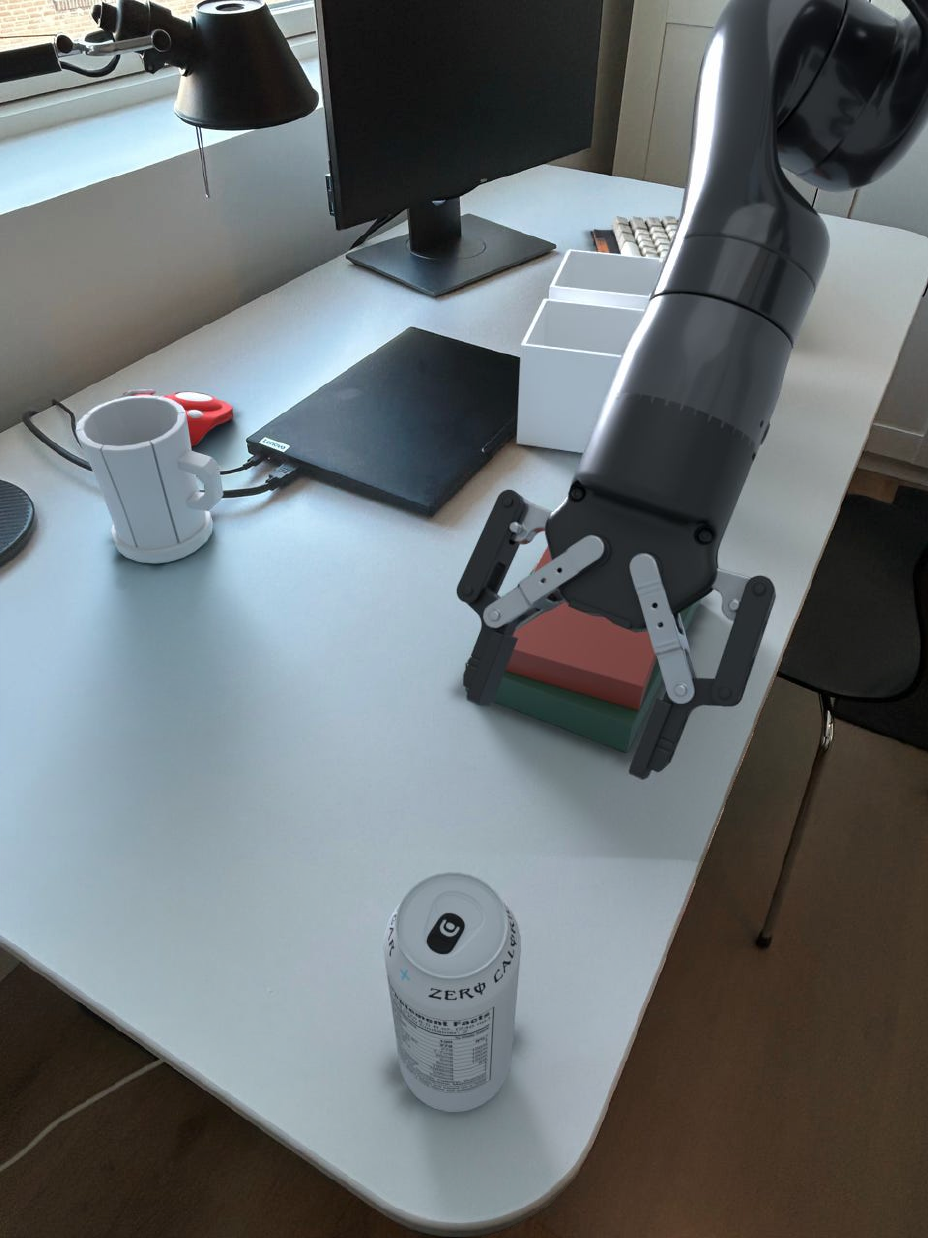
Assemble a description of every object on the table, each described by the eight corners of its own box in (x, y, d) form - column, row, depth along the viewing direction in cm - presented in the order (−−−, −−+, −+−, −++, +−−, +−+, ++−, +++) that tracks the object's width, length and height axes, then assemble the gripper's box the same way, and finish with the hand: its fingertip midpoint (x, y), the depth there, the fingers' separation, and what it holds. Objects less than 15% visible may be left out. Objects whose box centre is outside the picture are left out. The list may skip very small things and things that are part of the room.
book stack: (558, 557, 78) (562, 506, 75) (700, 602, 74) (712, 551, 70) (465, 690, 67) (464, 639, 63) (626, 753, 62) (637, 702, 59)
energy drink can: (529, 1035, 48) (546, 897, 38) (477, 1142, 45) (479, 1021, 34) (435, 982, 51) (427, 838, 40) (378, 1080, 47) (352, 948, 36)
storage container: (561, 338, 110) (568, 249, 102) (649, 349, 107) (663, 258, 100) (516, 443, 92) (520, 344, 84) (621, 458, 90) (635, 358, 82)
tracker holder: (231, 387, 98) (237, 411, 90) (229, 426, 100) (235, 453, 92) (114, 377, 94) (109, 401, 86) (115, 418, 96) (110, 445, 88)
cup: (225, 496, 85) (199, 383, 77) (239, 552, 79) (212, 436, 71) (112, 517, 83) (73, 403, 75) (118, 577, 77) (76, 460, 68)
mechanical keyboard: (589, 232, 135) (591, 209, 133) (712, 232, 136) (716, 209, 133) (624, 346, 108) (627, 320, 106) (777, 346, 108) (784, 320, 106)
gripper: (524, 353, 40) (398, 680, 41) (838, 439, 35) (687, 812, 36) (565, 405, 47) (457, 684, 48) (833, 483, 42) (706, 795, 43)
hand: (555, 738), depth 42 cm, fingers open, 8 cm apart
